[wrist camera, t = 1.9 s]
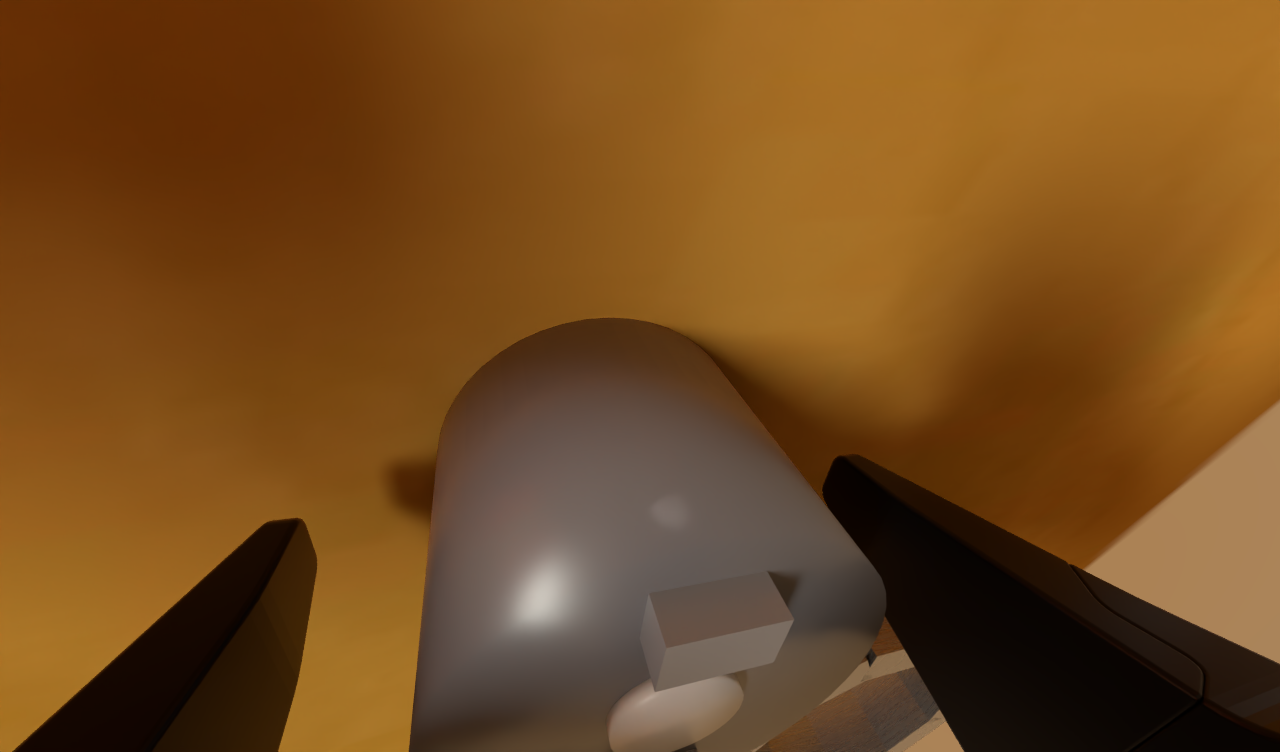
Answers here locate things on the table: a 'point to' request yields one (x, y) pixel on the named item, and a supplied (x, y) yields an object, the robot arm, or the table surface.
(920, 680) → the segmented ring
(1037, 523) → the table surface
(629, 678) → the cap
